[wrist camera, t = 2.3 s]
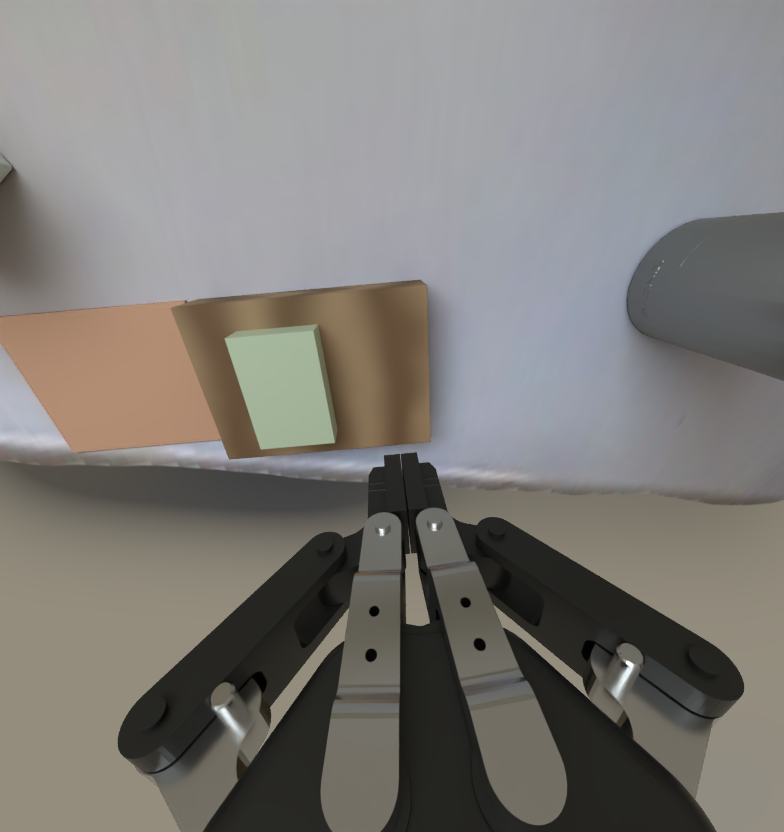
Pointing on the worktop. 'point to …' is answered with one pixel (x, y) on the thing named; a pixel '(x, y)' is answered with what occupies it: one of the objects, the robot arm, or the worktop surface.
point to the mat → (111, 375)
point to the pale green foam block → (284, 385)
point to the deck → (344, 357)
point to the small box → (4, 168)
